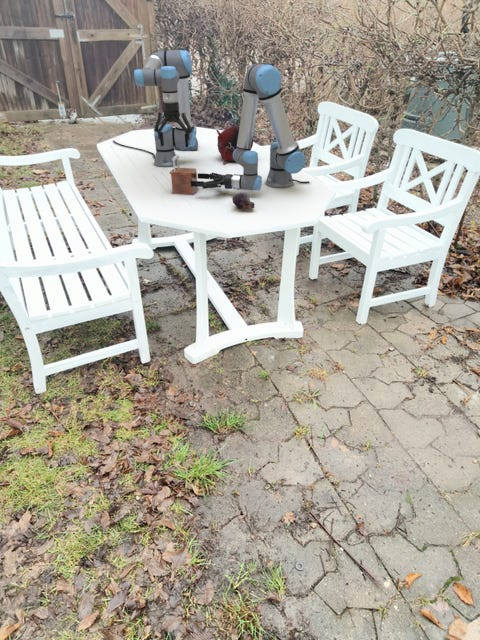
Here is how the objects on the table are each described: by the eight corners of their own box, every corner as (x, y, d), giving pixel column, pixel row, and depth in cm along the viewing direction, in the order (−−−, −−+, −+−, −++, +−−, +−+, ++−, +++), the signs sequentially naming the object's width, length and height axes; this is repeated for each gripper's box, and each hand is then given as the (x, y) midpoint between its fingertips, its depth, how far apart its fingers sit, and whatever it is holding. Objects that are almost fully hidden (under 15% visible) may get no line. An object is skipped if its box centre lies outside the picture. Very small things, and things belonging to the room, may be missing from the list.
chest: (172, 193, 246) (170, 174, 240) (177, 188, 254) (176, 169, 248) (193, 194, 244) (191, 175, 238) (197, 189, 251) (196, 170, 246)
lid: (169, 174, 240) (168, 158, 236) (175, 169, 248) (173, 153, 243) (191, 175, 238) (190, 159, 234) (196, 170, 246) (195, 154, 241)
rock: (245, 206, 232) (228, 209, 228) (244, 189, 228) (227, 192, 224) (257, 209, 223) (239, 213, 218) (256, 192, 219) (238, 195, 215)
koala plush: (198, 150, 320) (196, 121, 309) (173, 151, 319) (170, 122, 308) (198, 145, 335) (196, 116, 324) (174, 145, 334) (171, 117, 322)
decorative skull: (214, 132, 305) (214, 129, 282) (248, 124, 304) (250, 121, 281) (221, 164, 312) (221, 164, 288) (254, 157, 311) (257, 156, 288)
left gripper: (144, 102, 223) (149, 146, 235) (192, 103, 219) (195, 149, 231) (150, 100, 229) (154, 143, 241) (197, 101, 225) (199, 145, 237)
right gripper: (227, 196, 232) (188, 194, 235) (237, 181, 252) (200, 179, 255) (227, 181, 227) (187, 179, 231) (237, 167, 247) (200, 166, 251)
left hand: (174, 146), depth 236 cm, fingers open, 13 cm apart
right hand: (194, 179), depth 243 cm, fingers open, 13 cm apart
